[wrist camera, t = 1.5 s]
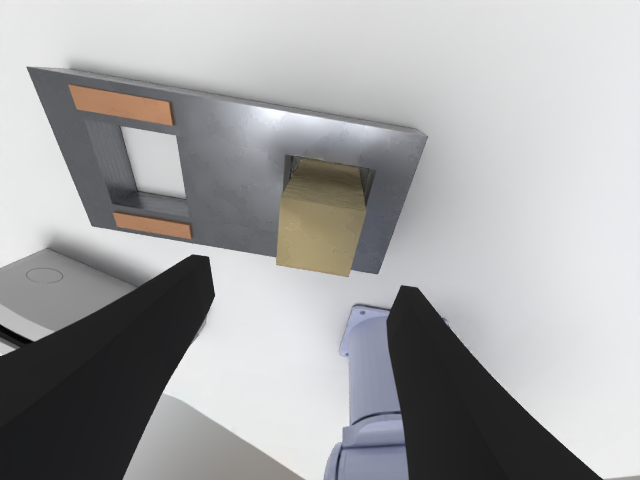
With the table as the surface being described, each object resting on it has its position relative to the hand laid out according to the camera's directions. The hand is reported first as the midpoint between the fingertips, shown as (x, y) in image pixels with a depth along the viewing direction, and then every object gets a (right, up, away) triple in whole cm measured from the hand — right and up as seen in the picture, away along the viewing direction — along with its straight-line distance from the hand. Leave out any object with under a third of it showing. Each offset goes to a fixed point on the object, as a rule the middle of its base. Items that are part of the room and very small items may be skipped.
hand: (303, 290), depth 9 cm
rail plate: (-5, +7, +9) cm, 12 cm away
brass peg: (+1, +6, +9) cm, 11 cm away
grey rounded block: (-19, -3, +17) cm, 26 cm away
